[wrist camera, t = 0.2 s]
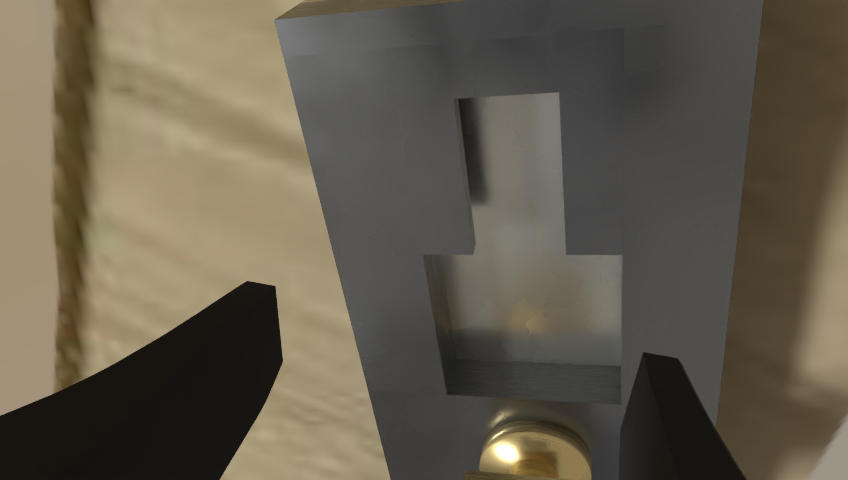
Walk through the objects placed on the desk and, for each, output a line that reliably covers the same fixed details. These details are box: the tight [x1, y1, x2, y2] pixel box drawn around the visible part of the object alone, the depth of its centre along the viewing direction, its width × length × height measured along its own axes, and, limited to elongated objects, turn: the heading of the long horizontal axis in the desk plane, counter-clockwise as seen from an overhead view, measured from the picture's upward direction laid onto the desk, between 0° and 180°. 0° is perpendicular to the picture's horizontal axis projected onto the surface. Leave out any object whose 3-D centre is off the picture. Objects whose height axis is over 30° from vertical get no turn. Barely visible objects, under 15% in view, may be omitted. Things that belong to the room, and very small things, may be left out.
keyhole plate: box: [274, 0, 764, 480], centre depth 23 cm, size 21×12×3 cm, turn 8°
